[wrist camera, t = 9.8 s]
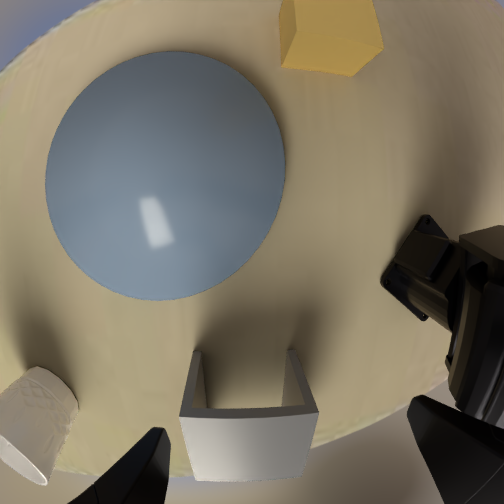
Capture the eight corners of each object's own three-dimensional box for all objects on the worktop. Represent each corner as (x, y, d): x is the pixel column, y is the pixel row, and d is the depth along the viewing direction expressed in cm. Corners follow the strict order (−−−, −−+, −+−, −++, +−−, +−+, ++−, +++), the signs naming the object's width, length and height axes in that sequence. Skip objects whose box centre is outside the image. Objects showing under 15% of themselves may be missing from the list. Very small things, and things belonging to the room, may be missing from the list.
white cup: (19, 348, 18) (-37, 402, 8) (81, 381, 19) (33, 457, 9) (31, 400, 19) (-9, 453, 10) (87, 430, 20) (56, 496, 11)
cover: (286, 416, 21) (301, 476, 14) (201, 418, 20) (195, 480, 14) (295, 349, 19) (319, 412, 13) (193, 351, 19) (179, 416, 12)
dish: (329, 143, 16) (336, 140, 15) (189, 335, 18) (187, 344, 17) (140, 30, 13) (136, 22, 12) (27, 211, 16) (18, 213, 14)
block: (351, 77, 15) (384, 48, 10) (281, 68, 15) (296, 30, 10) (343, 25, 14) (369, -9, 9) (278, 15, 14) (290, -26, 9)
